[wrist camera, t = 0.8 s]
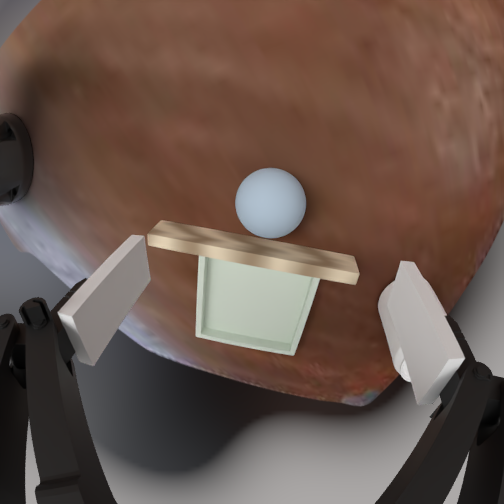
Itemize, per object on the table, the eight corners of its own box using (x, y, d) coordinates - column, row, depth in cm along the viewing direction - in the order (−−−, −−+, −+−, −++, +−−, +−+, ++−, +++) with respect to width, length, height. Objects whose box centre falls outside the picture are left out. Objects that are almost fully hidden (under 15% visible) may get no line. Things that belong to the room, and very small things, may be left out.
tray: (199, 327, 44) (195, 336, 42) (203, 242, 37) (199, 250, 35) (294, 345, 43) (293, 355, 41) (320, 264, 36) (321, 273, 34)
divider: (161, 230, 37) (147, 245, 33) (161, 220, 36) (147, 233, 33) (350, 266, 36) (355, 284, 32) (353, 256, 35) (359, 273, 31)
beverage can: (368, 288, 37) (388, 356, 26) (423, 262, 34) (459, 323, 24) (385, 328, 40) (403, 393, 29) (434, 305, 37) (463, 366, 26)
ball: (237, 215, 34) (225, 243, 28) (246, 156, 31) (233, 171, 25) (298, 227, 34) (298, 257, 28) (310, 168, 31) (315, 186, 25)
